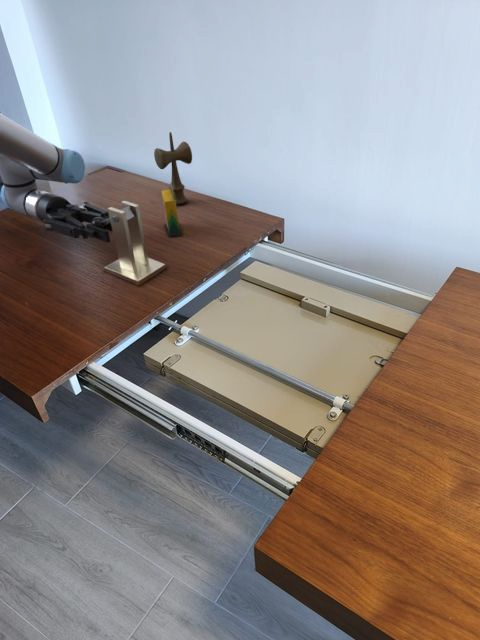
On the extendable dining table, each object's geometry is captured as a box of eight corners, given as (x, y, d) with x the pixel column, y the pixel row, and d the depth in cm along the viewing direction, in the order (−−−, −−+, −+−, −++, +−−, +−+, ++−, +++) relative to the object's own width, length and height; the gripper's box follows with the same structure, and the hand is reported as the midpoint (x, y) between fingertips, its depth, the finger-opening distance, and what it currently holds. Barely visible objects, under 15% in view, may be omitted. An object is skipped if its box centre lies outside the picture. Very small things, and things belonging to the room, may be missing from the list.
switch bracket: (105, 271, 111) (89, 207, 101) (132, 255, 117) (120, 193, 107) (139, 285, 107) (126, 220, 97) (166, 268, 113) (156, 205, 102)
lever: (93, 236, 111) (85, 222, 110) (105, 230, 113) (97, 216, 112) (126, 224, 102) (118, 208, 100) (138, 217, 104) (130, 202, 102)
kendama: (197, 201, 142) (191, 131, 128) (168, 210, 137) (159, 137, 124) (187, 195, 145) (180, 126, 132) (159, 203, 141) (149, 132, 128)
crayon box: (166, 224, 130) (160, 183, 122) (176, 223, 131) (171, 182, 123) (169, 237, 125) (163, 194, 117) (180, 235, 125) (175, 193, 118)
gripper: (15, 206, 111) (82, 232, 101) (72, 183, 121) (138, 204, 111) (25, 235, 116) (90, 262, 106) (79, 211, 126) (143, 234, 116)
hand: (114, 233), depth 109 cm, fingers closed on lever, 4 cm apart
